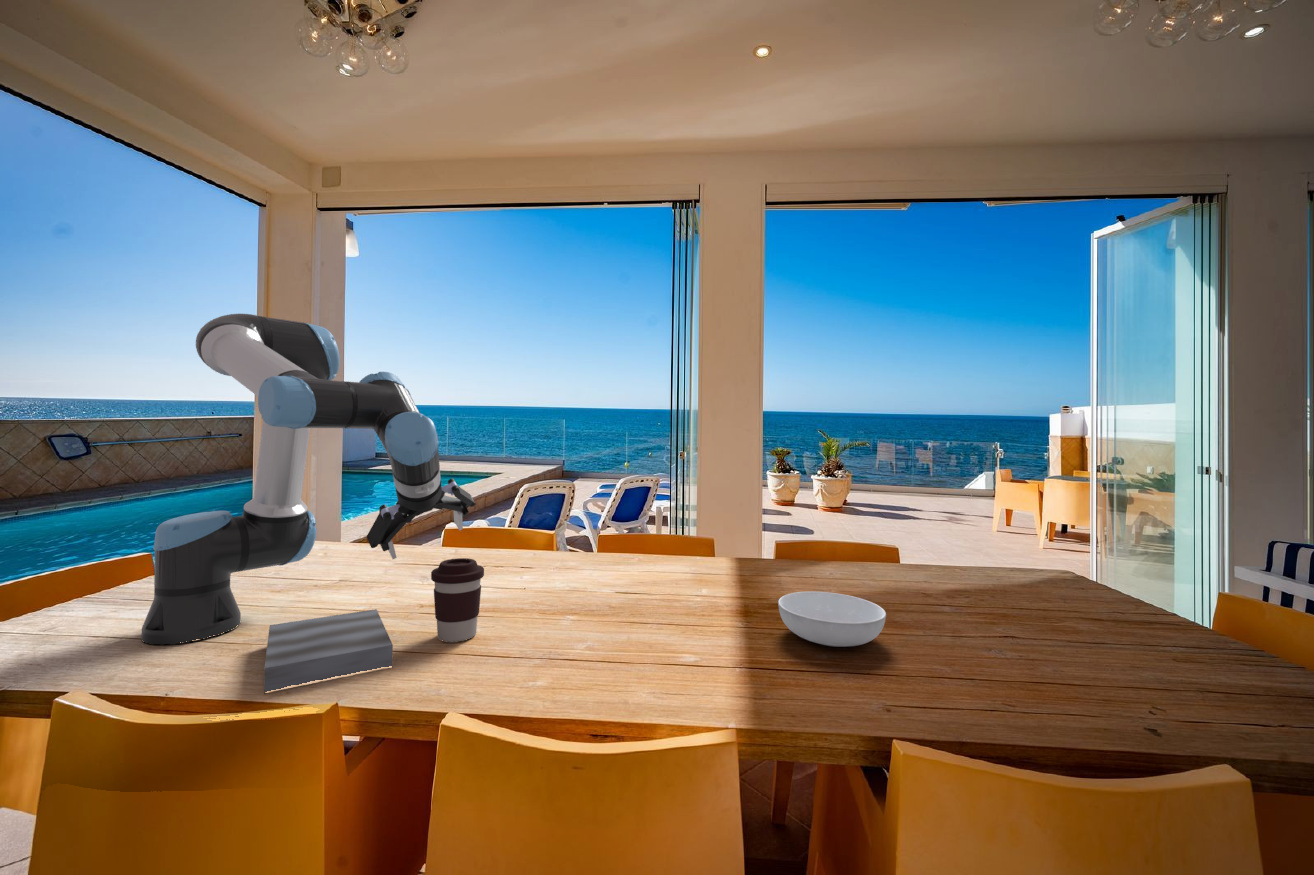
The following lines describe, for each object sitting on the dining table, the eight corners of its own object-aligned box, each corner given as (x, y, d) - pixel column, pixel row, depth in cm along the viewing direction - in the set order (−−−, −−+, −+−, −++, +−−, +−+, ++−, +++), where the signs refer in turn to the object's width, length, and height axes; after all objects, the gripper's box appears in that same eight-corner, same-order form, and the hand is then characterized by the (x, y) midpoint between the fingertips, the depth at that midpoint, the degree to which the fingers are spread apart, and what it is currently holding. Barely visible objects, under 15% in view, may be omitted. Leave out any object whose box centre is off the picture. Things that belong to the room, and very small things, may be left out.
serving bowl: (896, 664, 99) (897, 627, 99) (778, 654, 103) (779, 617, 103) (874, 625, 119) (875, 594, 119) (776, 617, 123) (777, 587, 123)
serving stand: (269, 646, 102) (269, 625, 102) (376, 628, 112) (376, 609, 112) (264, 694, 84) (264, 668, 84) (392, 667, 94) (392, 644, 94)
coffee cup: (472, 646, 104) (473, 568, 104) (421, 645, 104) (422, 567, 104) (489, 628, 114) (490, 556, 113) (442, 627, 114) (443, 555, 114)
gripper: (349, 528, 88) (368, 582, 104) (493, 472, 101) (491, 527, 117) (333, 493, 91) (354, 550, 107) (476, 443, 104) (476, 501, 120)
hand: (426, 538), depth 112 cm, fingers open, 13 cm apart
